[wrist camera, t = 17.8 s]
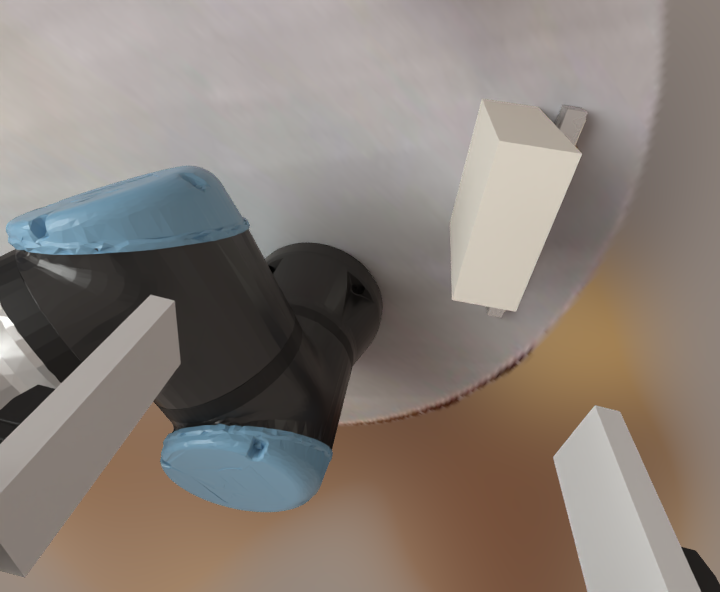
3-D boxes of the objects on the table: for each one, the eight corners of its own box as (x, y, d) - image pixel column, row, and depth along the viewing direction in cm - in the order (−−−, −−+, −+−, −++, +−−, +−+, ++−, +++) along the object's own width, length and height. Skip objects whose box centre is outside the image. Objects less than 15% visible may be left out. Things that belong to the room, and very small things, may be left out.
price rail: (503, 308, 44) (505, 318, 43) (485, 304, 44) (487, 314, 43) (587, 108, 33) (594, 113, 31) (562, 104, 33) (567, 109, 31)
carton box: (449, 222, 40) (451, 299, 29) (481, 98, 33) (499, 140, 23) (498, 230, 40) (518, 312, 29) (540, 107, 33) (584, 154, 23)
